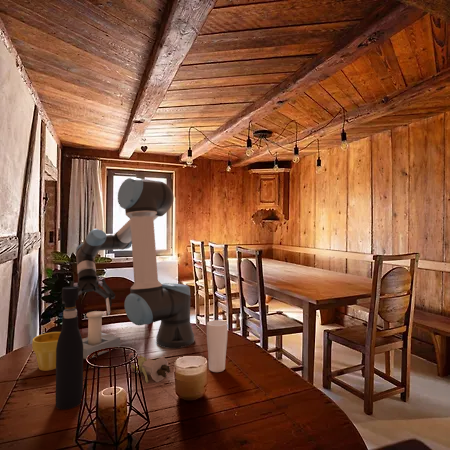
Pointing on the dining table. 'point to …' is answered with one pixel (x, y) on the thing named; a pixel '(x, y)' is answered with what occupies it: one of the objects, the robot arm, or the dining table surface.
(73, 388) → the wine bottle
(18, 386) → the dining table surface
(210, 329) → the drinking glass
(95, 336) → the cylinder
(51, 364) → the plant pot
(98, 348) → the jig
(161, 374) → the figurine
